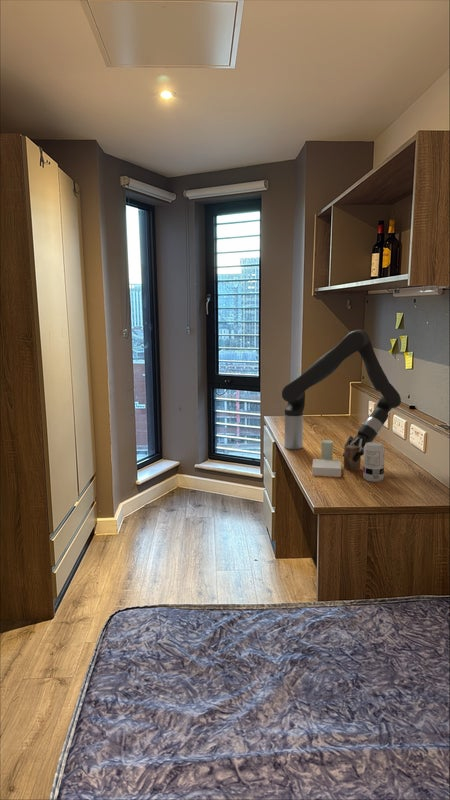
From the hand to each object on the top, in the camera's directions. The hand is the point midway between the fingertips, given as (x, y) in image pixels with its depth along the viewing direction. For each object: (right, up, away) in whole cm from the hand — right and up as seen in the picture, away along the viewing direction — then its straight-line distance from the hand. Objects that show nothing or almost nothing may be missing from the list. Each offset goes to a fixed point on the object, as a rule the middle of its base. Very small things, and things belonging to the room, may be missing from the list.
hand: (349, 458), depth 221 cm
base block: (-10, -6, -2) cm, 12 cm away
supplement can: (+7, -7, -12) cm, 16 cm away
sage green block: (-8, -3, +11) cm, 13 cm away
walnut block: (+2, -4, +2) cm, 5 cm away
